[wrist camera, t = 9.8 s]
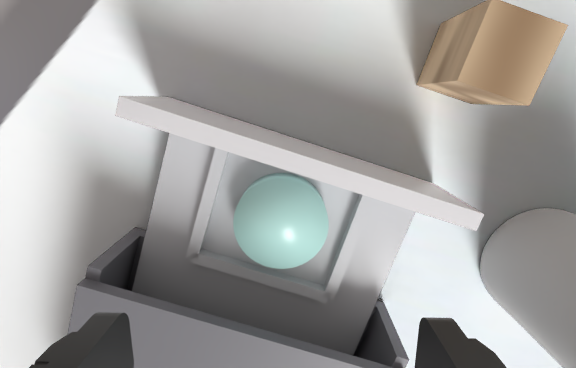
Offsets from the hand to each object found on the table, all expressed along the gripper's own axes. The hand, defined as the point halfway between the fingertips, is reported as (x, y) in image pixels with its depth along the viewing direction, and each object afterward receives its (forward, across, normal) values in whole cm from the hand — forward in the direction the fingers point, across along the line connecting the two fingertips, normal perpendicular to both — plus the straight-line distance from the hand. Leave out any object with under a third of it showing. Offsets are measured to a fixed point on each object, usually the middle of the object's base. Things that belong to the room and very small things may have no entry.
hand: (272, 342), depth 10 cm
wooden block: (+16, -11, -9) cm, 22 cm away
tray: (+16, +1, +4) cm, 17 cm away
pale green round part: (+14, 0, +1) cm, 14 cm away
